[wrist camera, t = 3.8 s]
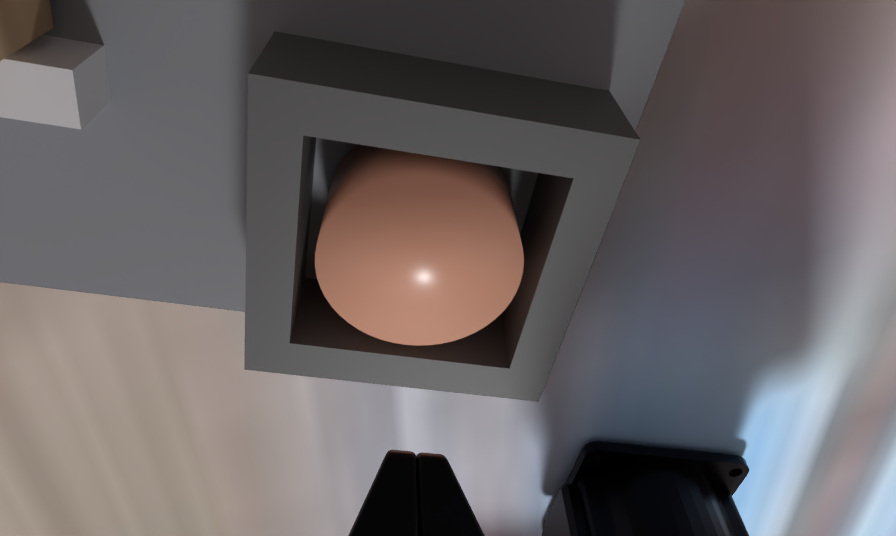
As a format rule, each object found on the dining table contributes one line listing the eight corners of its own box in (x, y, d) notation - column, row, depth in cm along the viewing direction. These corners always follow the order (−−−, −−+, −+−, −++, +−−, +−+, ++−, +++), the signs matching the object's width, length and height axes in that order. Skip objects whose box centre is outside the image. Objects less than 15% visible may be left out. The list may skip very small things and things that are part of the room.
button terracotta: (531, 139, 15) (548, 193, 13) (488, 290, 17) (497, 356, 15) (337, 107, 14) (323, 159, 12) (322, 268, 17) (308, 333, 15)
